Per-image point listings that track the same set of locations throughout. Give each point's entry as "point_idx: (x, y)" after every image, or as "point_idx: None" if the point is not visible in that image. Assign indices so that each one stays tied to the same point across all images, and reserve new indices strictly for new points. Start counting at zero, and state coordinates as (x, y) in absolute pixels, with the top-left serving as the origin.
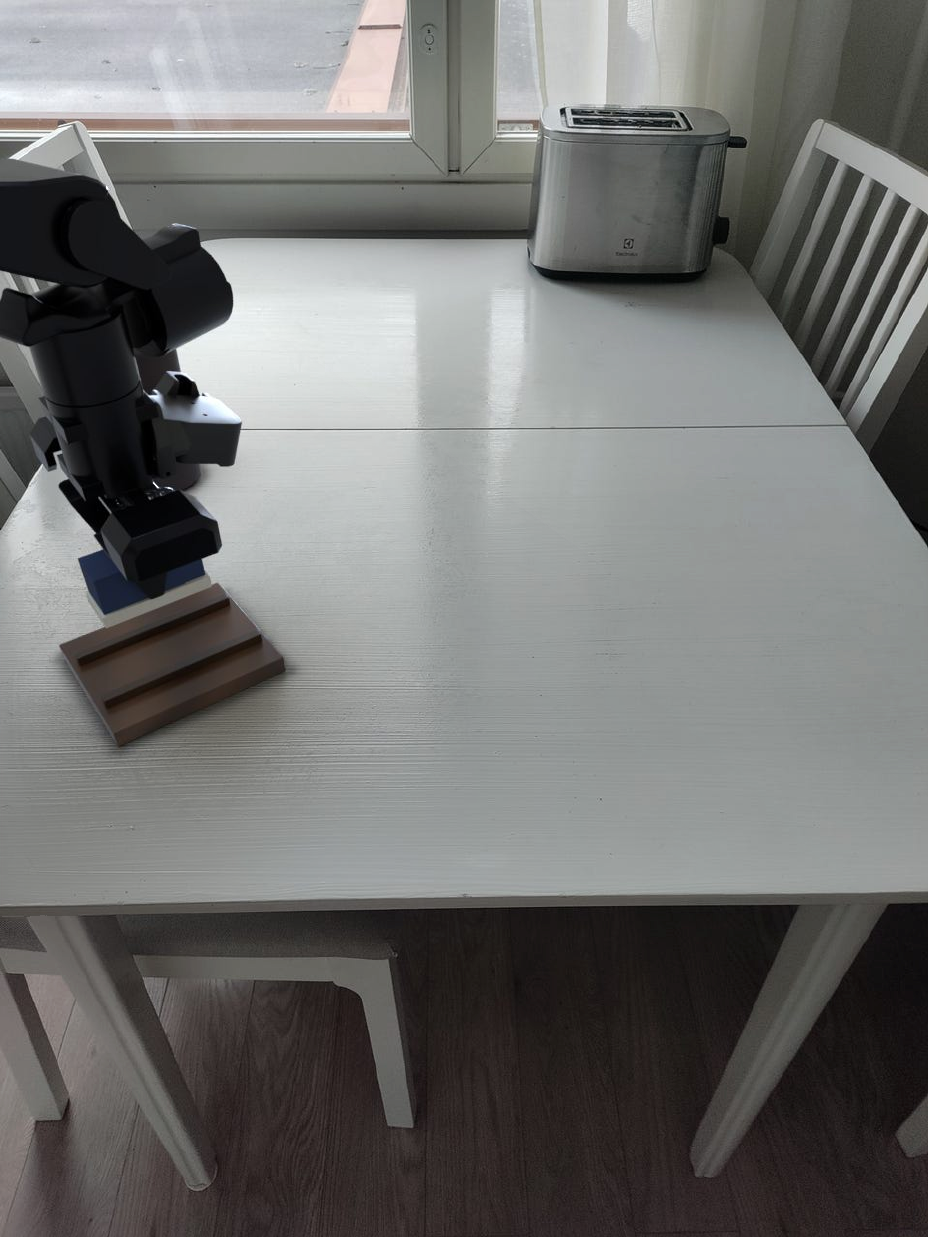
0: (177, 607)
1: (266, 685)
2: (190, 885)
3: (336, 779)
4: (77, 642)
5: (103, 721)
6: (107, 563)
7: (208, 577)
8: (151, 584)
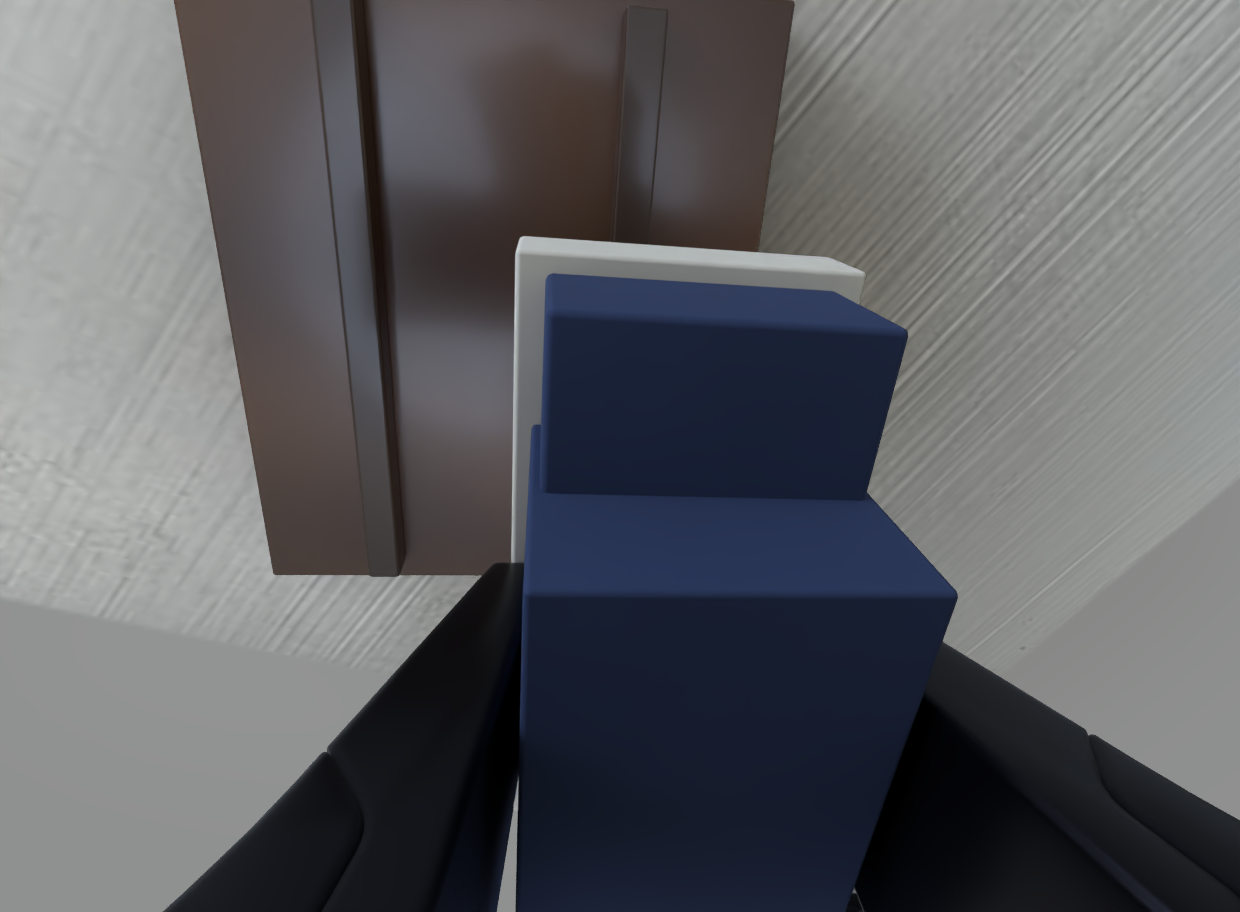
0: (265, 191)
1: (781, 118)
2: (1108, 566)
3: (1209, 172)
4: (291, 534)
5: None
6: None
7: (861, 284)
8: None
